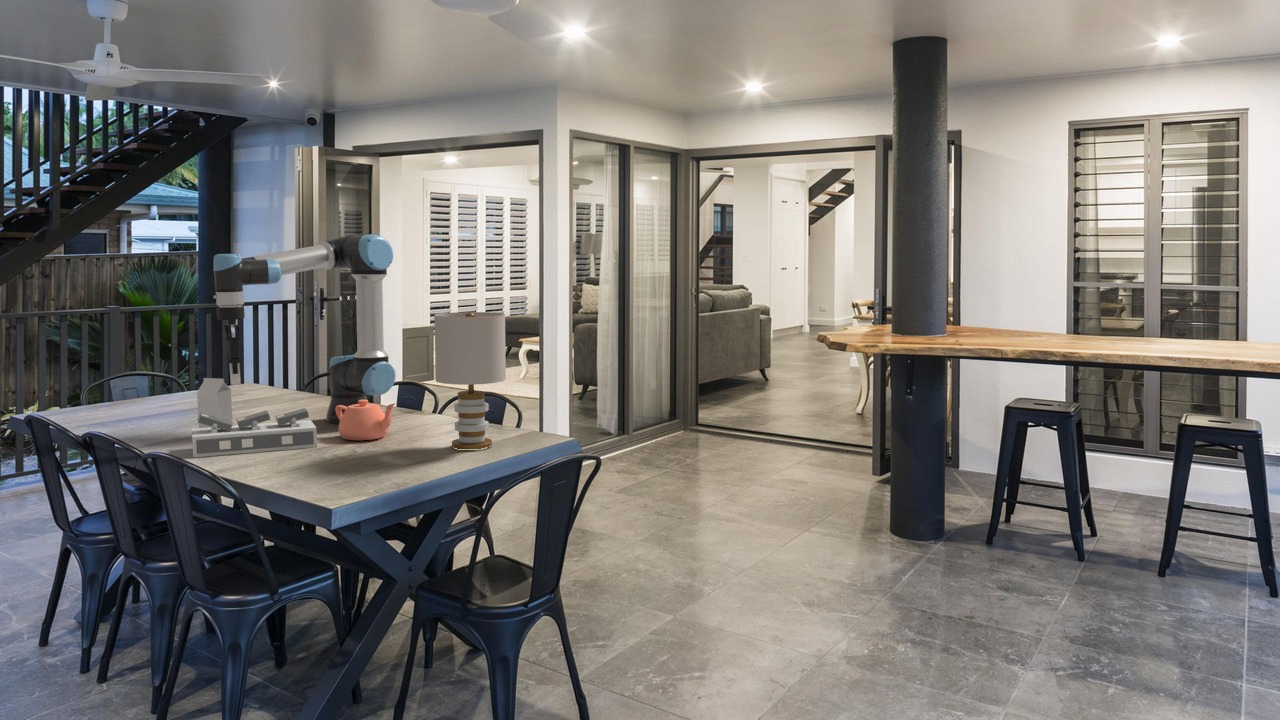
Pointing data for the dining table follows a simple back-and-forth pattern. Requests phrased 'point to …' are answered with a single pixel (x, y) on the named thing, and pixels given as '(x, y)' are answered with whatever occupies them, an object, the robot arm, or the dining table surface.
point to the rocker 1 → (214, 422)
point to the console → (253, 438)
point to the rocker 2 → (292, 416)
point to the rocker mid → (253, 419)
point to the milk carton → (214, 400)
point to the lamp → (470, 367)
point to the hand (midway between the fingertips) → (235, 384)
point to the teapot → (363, 421)
